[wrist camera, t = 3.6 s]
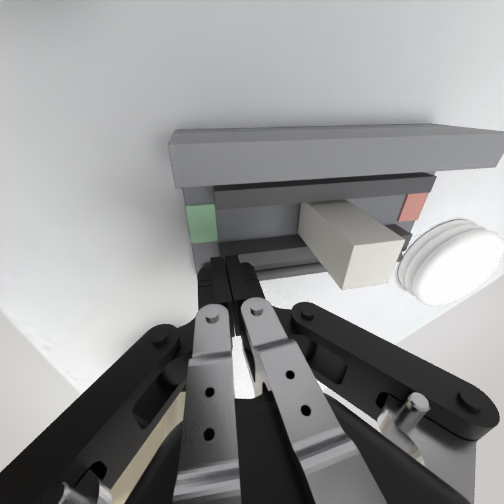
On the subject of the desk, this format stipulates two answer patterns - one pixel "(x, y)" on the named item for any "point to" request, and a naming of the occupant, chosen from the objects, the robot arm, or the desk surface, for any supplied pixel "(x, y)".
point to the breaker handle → (349, 243)
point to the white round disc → (450, 262)
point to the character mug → (148, 450)
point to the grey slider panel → (310, 183)
